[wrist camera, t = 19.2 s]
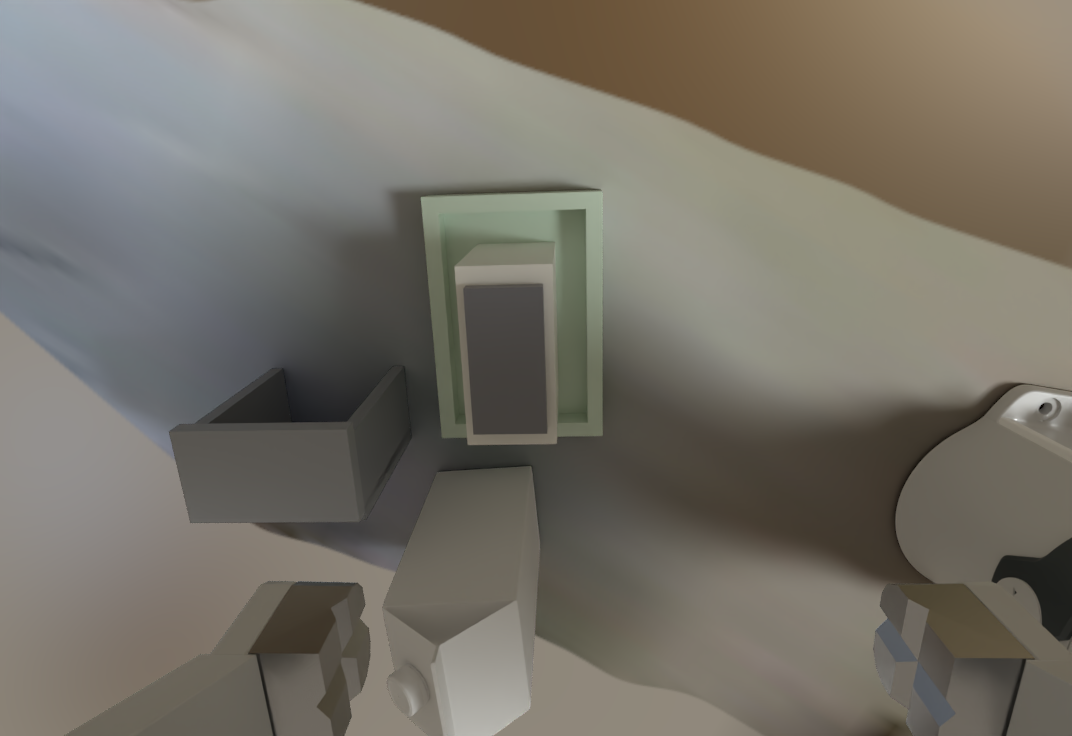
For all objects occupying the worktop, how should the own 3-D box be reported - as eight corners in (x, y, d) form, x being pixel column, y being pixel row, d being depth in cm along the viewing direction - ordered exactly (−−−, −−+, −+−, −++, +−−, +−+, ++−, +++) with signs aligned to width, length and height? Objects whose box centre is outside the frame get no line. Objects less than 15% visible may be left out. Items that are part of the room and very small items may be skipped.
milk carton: (532, 463, 46) (510, 660, 28) (540, 546, 48) (526, 778, 30) (436, 470, 46) (355, 666, 28) (449, 551, 49) (382, 782, 31)
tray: (600, 189, 40) (602, 191, 37) (600, 422, 45) (602, 436, 42) (428, 195, 40) (420, 197, 38) (447, 424, 45) (441, 438, 43)
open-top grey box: (403, 359, 44) (346, 429, 32) (411, 437, 46) (360, 530, 34) (270, 361, 44) (168, 431, 33) (284, 439, 46) (192, 530, 35)
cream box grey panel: (555, 241, 40) (552, 266, 31) (558, 388, 43) (556, 450, 34) (477, 243, 40) (451, 269, 31) (486, 389, 44) (465, 451, 34)
